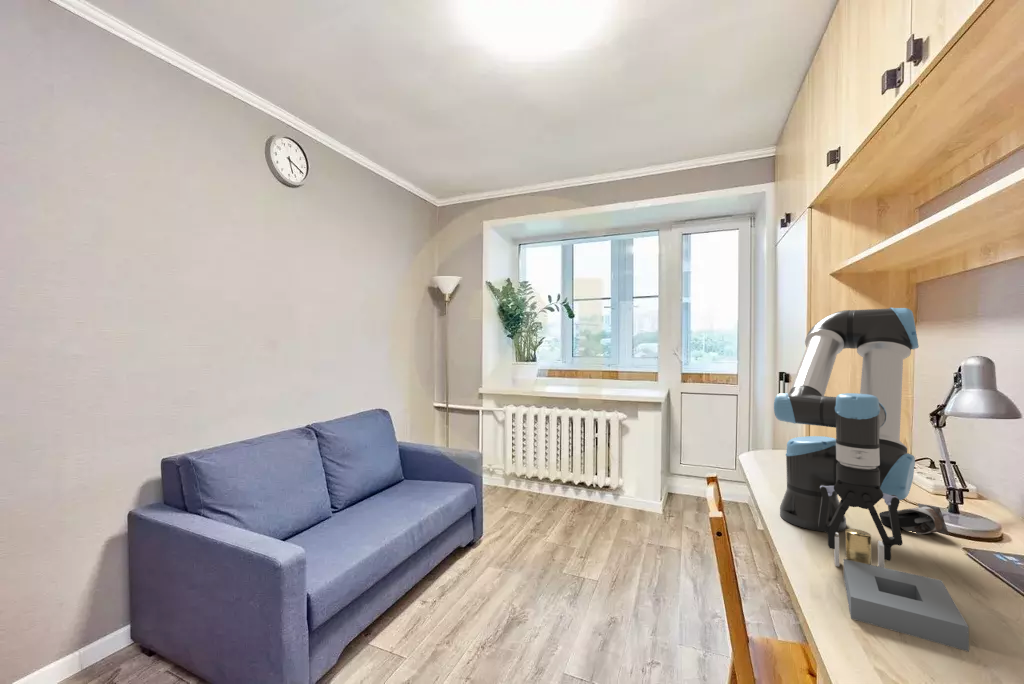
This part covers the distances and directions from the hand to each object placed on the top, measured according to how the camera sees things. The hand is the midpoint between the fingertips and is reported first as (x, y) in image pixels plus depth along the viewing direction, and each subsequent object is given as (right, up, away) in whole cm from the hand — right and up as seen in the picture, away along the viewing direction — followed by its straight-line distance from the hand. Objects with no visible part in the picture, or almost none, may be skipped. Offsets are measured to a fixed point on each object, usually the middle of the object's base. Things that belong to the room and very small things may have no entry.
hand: (858, 568), depth 94 cm
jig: (-4, 0, -14) cm, 15 cm away
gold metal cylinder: (0, 0, 0) cm, 0 cm away
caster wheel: (+29, 0, +19) cm, 35 cm away
